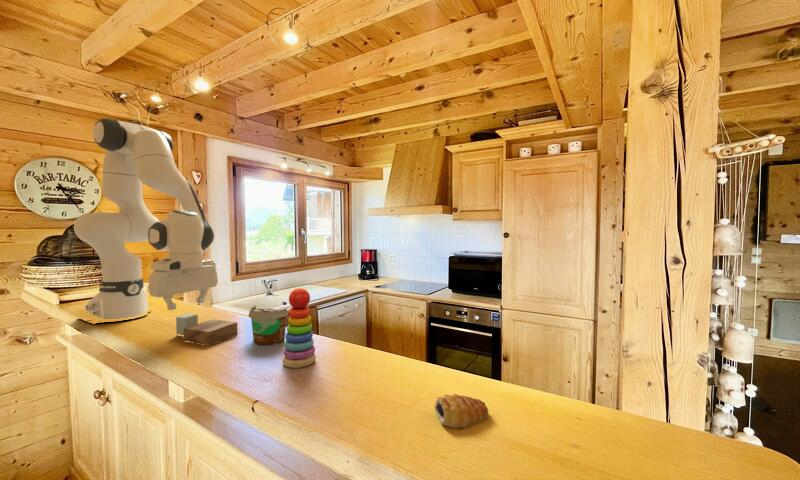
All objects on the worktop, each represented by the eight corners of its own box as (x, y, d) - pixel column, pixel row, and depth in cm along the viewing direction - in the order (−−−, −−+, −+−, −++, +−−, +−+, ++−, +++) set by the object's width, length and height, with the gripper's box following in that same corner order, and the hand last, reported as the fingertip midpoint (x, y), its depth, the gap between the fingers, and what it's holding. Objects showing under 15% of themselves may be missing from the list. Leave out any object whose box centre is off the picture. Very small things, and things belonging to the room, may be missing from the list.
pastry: (477, 404, 62) (478, 385, 62) (496, 426, 55) (496, 404, 55) (431, 411, 59) (431, 390, 59) (445, 433, 53) (445, 411, 53)
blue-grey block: (176, 336, 99) (176, 317, 99) (188, 332, 103) (188, 313, 103) (186, 337, 98) (185, 318, 98) (197, 333, 102) (197, 314, 102)
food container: (239, 344, 92) (238, 310, 92) (254, 337, 98) (254, 305, 98) (274, 349, 89) (274, 313, 88) (288, 341, 95) (288, 308, 94)
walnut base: (183, 341, 94) (183, 328, 94) (213, 331, 104) (213, 319, 104) (209, 345, 91) (209, 332, 91) (237, 334, 101) (237, 322, 100)
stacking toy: (275, 365, 79) (274, 289, 78) (299, 353, 86) (299, 284, 85) (299, 371, 75) (298, 292, 74) (322, 359, 82) (322, 287, 81)
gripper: (208, 258, 111) (208, 298, 111) (144, 264, 91) (145, 312, 92) (222, 259, 109) (222, 299, 109) (160, 265, 89) (161, 314, 90)
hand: (186, 305), depth 100 cm, fingers open, 8 cm apart
